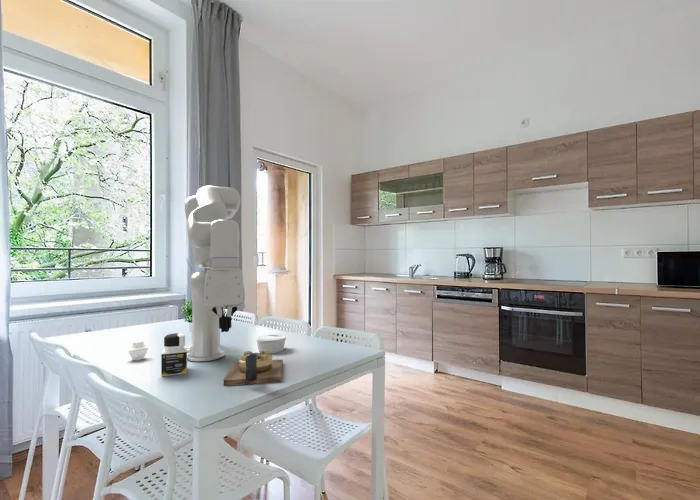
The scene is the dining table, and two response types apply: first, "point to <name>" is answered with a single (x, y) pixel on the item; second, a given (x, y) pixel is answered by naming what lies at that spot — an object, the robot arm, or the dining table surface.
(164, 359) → the medicine bottle
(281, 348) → the ramekin
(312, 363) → the dining table surface
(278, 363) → the walnut board
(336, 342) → the dining table surface
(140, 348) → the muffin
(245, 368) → the brass valve
